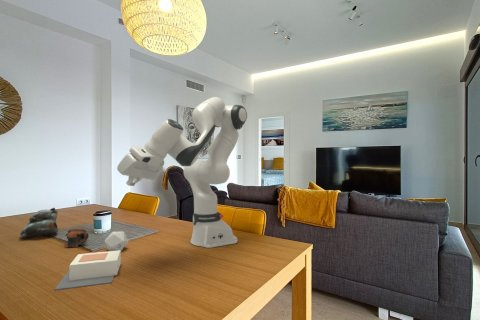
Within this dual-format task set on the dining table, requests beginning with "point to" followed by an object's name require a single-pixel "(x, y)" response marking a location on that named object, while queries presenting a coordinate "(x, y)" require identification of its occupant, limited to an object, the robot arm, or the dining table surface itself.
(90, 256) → the cream block
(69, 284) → the mat
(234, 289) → the dining table surface
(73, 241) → the pottery mug
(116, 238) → the die
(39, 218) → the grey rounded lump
